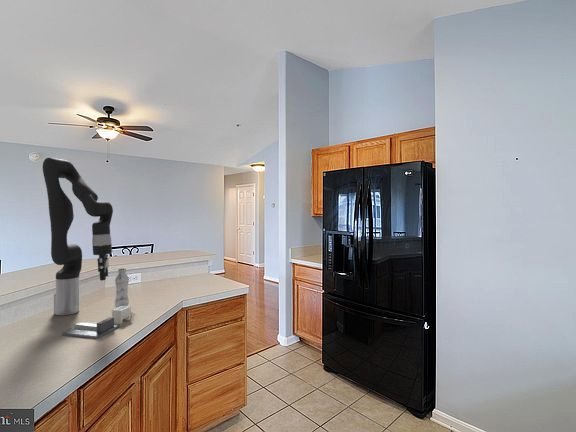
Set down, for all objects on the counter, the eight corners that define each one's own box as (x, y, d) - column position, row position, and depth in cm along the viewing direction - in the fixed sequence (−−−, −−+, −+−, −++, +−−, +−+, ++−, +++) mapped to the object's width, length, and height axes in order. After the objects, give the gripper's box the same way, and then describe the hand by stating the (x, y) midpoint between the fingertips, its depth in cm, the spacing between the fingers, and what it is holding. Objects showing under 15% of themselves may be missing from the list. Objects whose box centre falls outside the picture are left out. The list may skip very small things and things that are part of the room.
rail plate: (62, 335, 117) (62, 322, 117) (87, 323, 129) (87, 312, 129) (96, 338, 114) (97, 326, 114) (119, 326, 126) (119, 315, 126)
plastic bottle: (112, 310, 147) (113, 270, 146) (116, 306, 153) (117, 268, 153) (126, 309, 148) (127, 270, 148) (130, 305, 155) (130, 267, 155)
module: (112, 323, 130) (112, 309, 130) (121, 318, 136) (121, 305, 136) (120, 324, 130) (121, 310, 129) (130, 319, 135) (130, 306, 135)
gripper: (95, 243, 141) (97, 276, 141) (89, 246, 128) (92, 282, 129) (113, 242, 144) (115, 274, 145) (109, 244, 131) (111, 280, 132)
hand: (104, 278), depth 137 cm, fingers open, 8 cm apart
